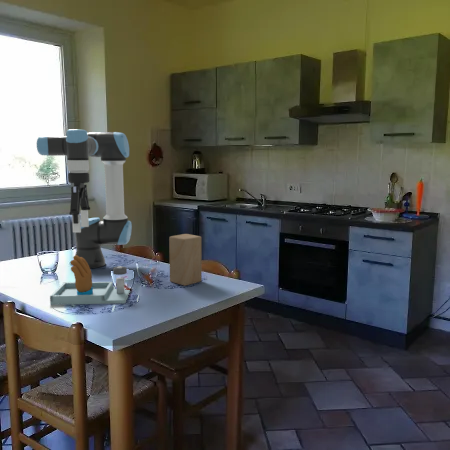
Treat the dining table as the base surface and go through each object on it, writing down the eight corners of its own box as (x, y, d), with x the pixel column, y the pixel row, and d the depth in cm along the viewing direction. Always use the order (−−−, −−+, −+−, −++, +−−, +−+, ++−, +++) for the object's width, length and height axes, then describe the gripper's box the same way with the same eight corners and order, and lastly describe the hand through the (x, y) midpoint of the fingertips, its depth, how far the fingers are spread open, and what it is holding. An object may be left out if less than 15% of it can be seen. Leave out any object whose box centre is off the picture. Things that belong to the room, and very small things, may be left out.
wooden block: (169, 281, 196) (168, 236, 193) (186, 277, 204) (186, 233, 201) (184, 286, 190) (184, 239, 187) (202, 281, 197) (201, 236, 194)
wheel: (114, 271, 177) (114, 265, 177) (127, 271, 177) (127, 265, 177) (112, 274, 172) (112, 268, 172) (125, 274, 172) (125, 268, 172)
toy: (83, 288, 182) (81, 251, 179) (99, 289, 180) (98, 252, 178) (67, 297, 170) (65, 258, 168) (84, 298, 169) (82, 259, 166)
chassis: (64, 290, 183) (63, 273, 182) (131, 289, 185) (131, 272, 184) (50, 304, 165) (49, 286, 164) (125, 303, 167) (124, 285, 166)
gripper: (76, 170, 179) (78, 224, 183) (58, 173, 155) (61, 235, 159) (95, 170, 180) (97, 224, 183) (81, 173, 156) (83, 235, 159)
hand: (81, 229), depth 171 cm, fingers open, 12 cm apart
